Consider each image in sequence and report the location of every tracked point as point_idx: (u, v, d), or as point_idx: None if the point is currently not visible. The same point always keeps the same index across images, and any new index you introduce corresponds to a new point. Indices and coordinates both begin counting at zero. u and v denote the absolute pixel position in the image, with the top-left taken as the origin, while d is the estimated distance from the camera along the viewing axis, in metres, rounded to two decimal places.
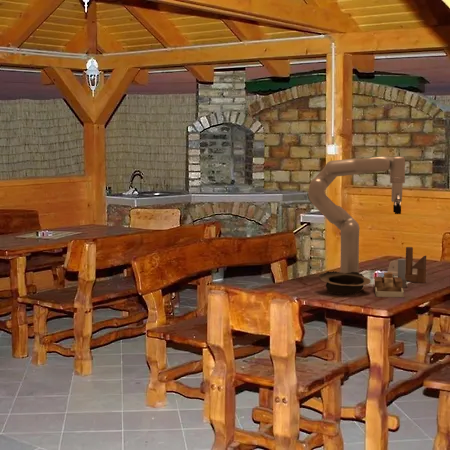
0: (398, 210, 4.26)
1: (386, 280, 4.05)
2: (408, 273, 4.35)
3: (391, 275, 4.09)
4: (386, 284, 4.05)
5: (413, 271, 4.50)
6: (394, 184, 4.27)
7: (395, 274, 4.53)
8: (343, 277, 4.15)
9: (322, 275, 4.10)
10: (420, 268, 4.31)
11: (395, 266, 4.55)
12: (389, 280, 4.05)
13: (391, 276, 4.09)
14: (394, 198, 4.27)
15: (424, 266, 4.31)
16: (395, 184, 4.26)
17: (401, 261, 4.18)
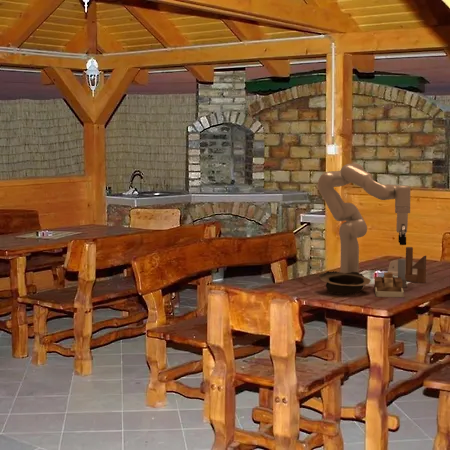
0: (403, 241, 4.12)
1: (386, 280, 4.05)
2: (408, 273, 4.35)
3: (391, 275, 4.09)
4: (386, 284, 4.05)
5: (413, 271, 4.50)
6: (399, 214, 4.13)
7: (395, 274, 4.53)
8: (343, 277, 4.15)
9: (322, 275, 4.10)
10: (420, 268, 4.31)
11: (395, 266, 4.55)
12: (389, 280, 4.05)
13: (391, 276, 4.09)
14: (399, 229, 4.13)
15: (424, 266, 4.31)
16: (400, 214, 4.13)
17: (401, 261, 4.18)
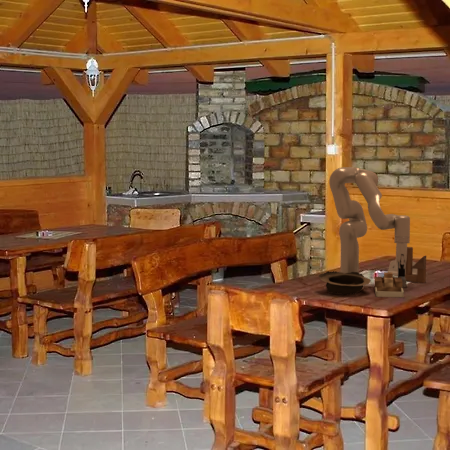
0: (402, 273, 4.17)
1: (386, 280, 4.05)
2: (408, 273, 4.35)
3: (391, 275, 4.09)
4: (386, 284, 4.05)
5: (413, 271, 4.50)
6: (398, 244, 4.14)
7: (395, 274, 4.53)
8: (343, 277, 4.15)
9: (322, 275, 4.10)
10: (420, 268, 4.31)
11: (395, 266, 4.55)
12: (389, 280, 4.05)
13: (391, 276, 4.09)
14: (398, 259, 4.14)
15: (424, 266, 4.31)
16: (399, 244, 4.14)
17: None
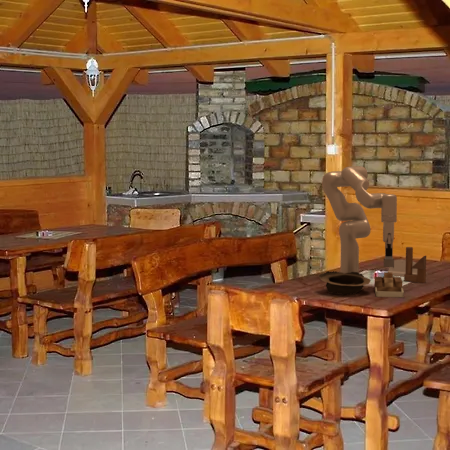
0: (389, 252, 4.10)
1: (386, 280, 4.05)
2: (408, 273, 4.35)
3: (391, 275, 4.09)
4: (386, 284, 4.05)
5: (413, 271, 4.50)
6: (385, 223, 4.08)
7: (395, 274, 4.53)
8: (343, 277, 4.15)
9: (322, 275, 4.10)
10: (420, 268, 4.31)
11: (396, 266, 4.55)
12: (389, 280, 4.05)
13: (391, 276, 4.09)
14: (385, 238, 4.08)
15: (424, 266, 4.31)
16: (386, 223, 4.08)
17: None
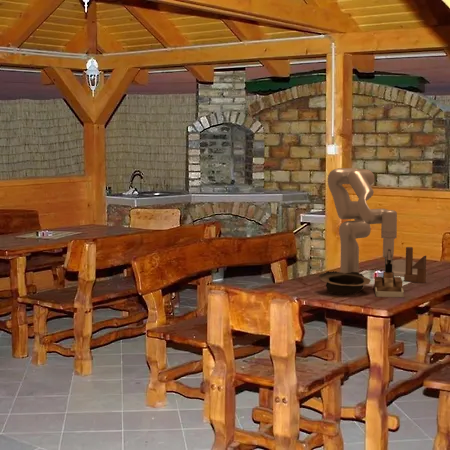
0: (389, 268, 4.10)
1: (386, 280, 4.05)
2: (408, 273, 4.35)
3: (391, 275, 4.09)
4: (386, 284, 4.05)
5: (414, 271, 4.50)
6: (385, 239, 4.08)
7: (396, 274, 4.53)
8: (343, 277, 4.15)
9: (322, 275, 4.10)
10: (420, 268, 4.31)
11: (396, 266, 4.55)
12: (389, 280, 4.05)
13: (391, 276, 4.09)
14: (385, 254, 4.08)
15: (424, 266, 4.31)
16: (386, 239, 4.08)
17: None
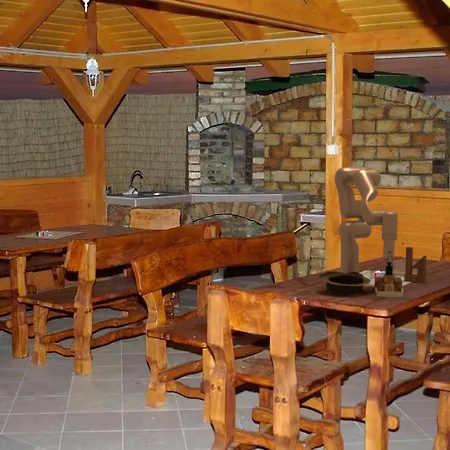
0: (389, 271, 4.04)
1: None
2: (408, 273, 4.35)
3: (391, 277, 4.02)
4: None
5: (414, 271, 4.50)
6: (386, 241, 4.01)
7: (396, 274, 4.53)
8: (343, 277, 4.15)
9: (322, 275, 4.10)
10: (420, 268, 4.31)
11: (396, 266, 4.55)
12: None
13: (391, 278, 4.02)
14: (386, 256, 4.01)
15: (424, 266, 4.31)
16: (387, 241, 4.01)
17: None
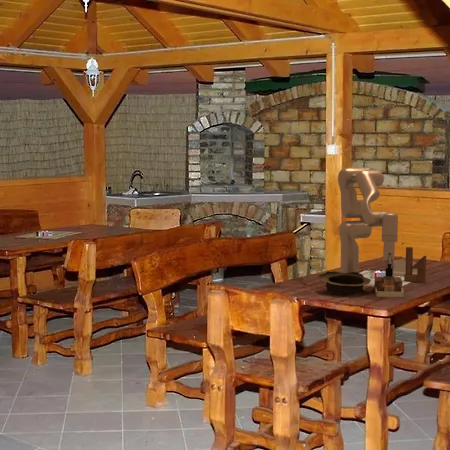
0: (389, 272, 4.00)
1: None
2: (408, 273, 4.35)
3: (391, 282, 3.98)
4: None
5: (414, 271, 4.49)
6: (386, 243, 3.98)
7: (396, 274, 4.53)
8: (343, 277, 4.15)
9: (322, 275, 4.10)
10: (420, 268, 4.31)
11: (396, 266, 4.55)
12: None
13: (391, 283, 3.99)
14: (386, 258, 3.98)
15: (424, 266, 4.31)
16: (387, 243, 3.97)
17: None
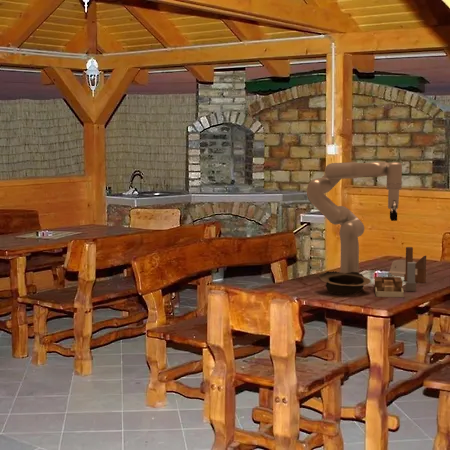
0: (394, 217, 4.20)
1: None
2: None
3: (391, 283, 3.99)
4: None
5: (415, 271, 4.49)
6: (390, 190, 4.20)
7: (397, 274, 4.53)
8: (343, 277, 4.15)
9: (322, 275, 4.10)
10: (420, 268, 4.31)
11: (397, 266, 4.55)
12: None
13: (391, 284, 3.99)
14: (390, 205, 4.20)
15: (424, 266, 4.31)
16: (391, 190, 4.20)
17: (411, 264, 4.06)
